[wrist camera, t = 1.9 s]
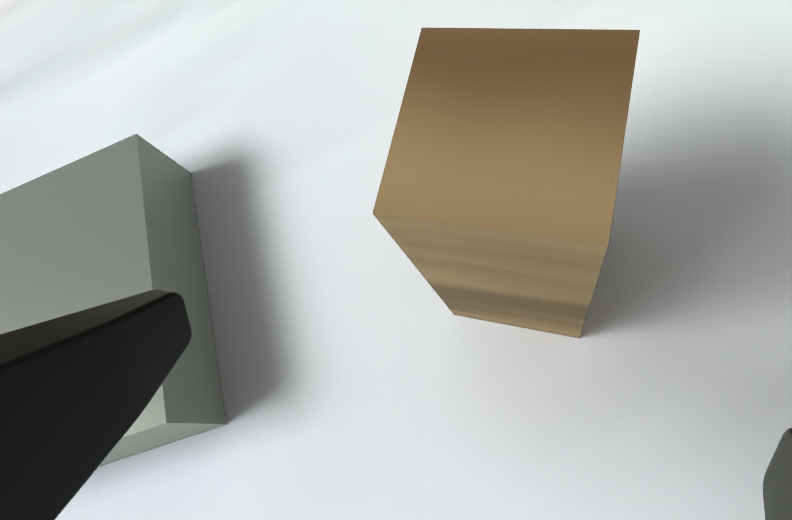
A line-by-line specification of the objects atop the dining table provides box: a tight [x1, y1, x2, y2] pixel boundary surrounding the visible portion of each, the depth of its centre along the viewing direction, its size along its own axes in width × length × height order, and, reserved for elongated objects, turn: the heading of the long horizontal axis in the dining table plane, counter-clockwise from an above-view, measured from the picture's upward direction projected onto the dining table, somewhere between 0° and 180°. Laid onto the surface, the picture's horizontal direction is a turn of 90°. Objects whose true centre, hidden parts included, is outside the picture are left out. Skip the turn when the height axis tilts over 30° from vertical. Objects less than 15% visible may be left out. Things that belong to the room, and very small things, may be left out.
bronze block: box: [373, 28, 640, 338], centre depth 15 cm, size 4×4×10 cm
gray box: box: [0, 134, 227, 466], centre depth 23 cm, size 12×12×4 cm
